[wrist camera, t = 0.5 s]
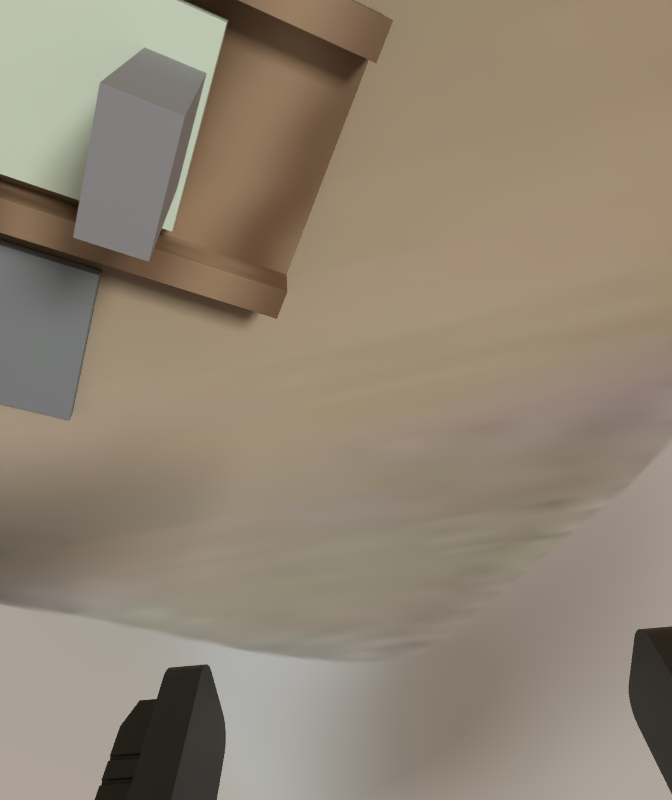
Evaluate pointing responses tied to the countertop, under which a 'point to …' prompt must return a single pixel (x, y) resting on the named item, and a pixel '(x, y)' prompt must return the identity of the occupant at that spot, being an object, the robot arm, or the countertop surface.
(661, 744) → the robot arm
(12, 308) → the pad
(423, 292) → the countertop surface
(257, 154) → the lane board
